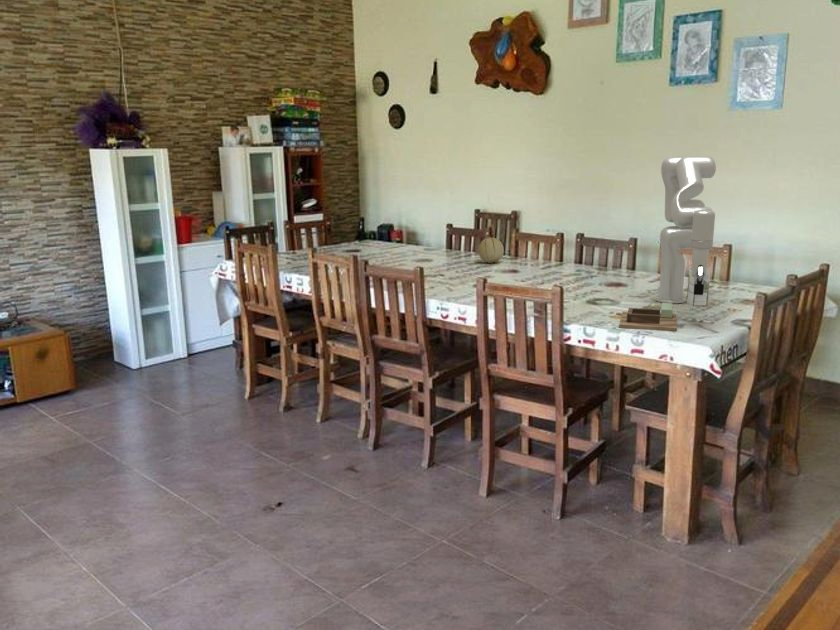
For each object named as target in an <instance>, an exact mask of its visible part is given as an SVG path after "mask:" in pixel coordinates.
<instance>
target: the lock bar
mask: <svg viewBox="0 0 840 630" xmlns="http://www.w3.org/2000/svg"><path fill="white" fill-rule="evenodd" d="M673 312H674V311H673V303H663V302H661V308H660V313H661V317H665V318H672V314H673Z"/></svg>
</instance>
